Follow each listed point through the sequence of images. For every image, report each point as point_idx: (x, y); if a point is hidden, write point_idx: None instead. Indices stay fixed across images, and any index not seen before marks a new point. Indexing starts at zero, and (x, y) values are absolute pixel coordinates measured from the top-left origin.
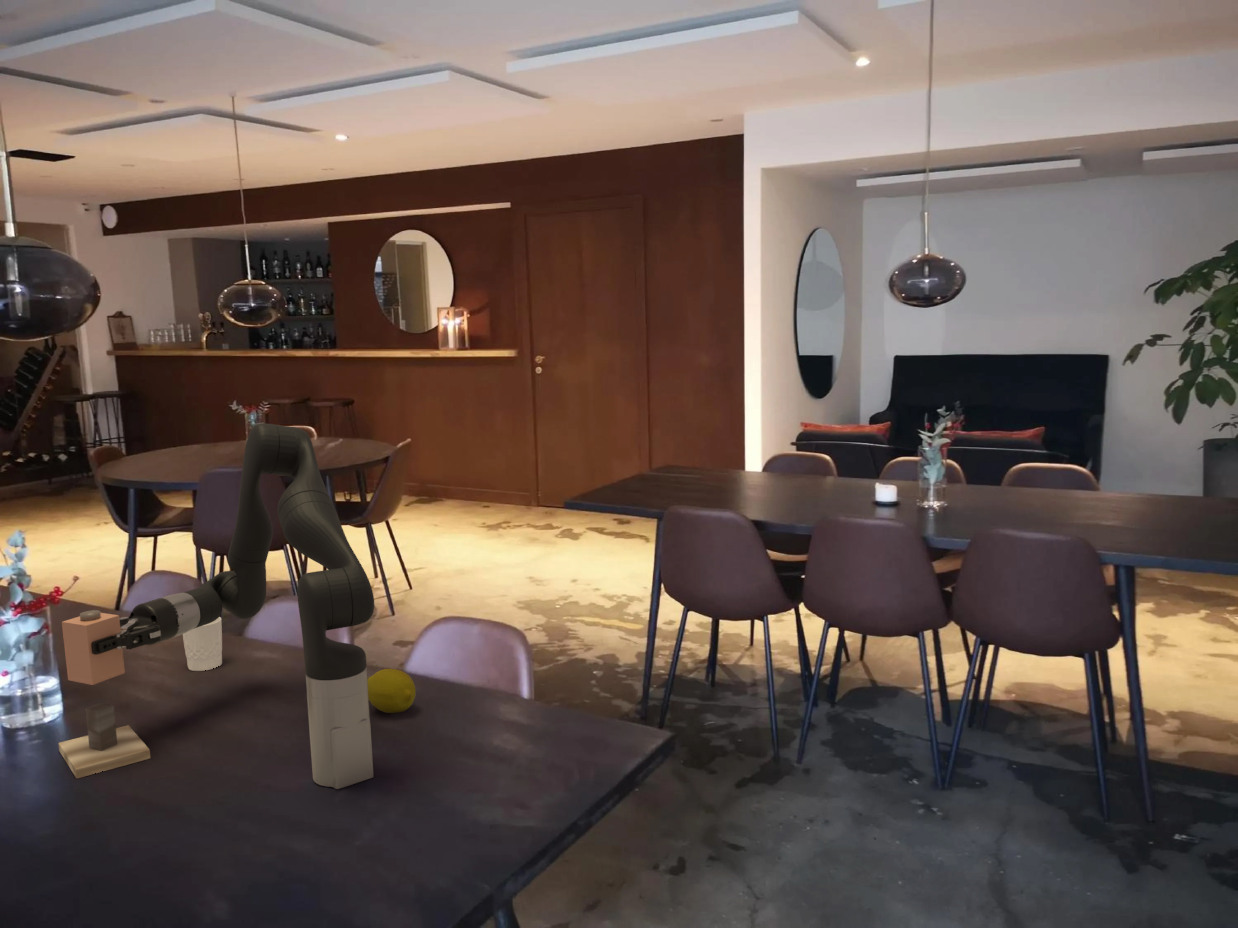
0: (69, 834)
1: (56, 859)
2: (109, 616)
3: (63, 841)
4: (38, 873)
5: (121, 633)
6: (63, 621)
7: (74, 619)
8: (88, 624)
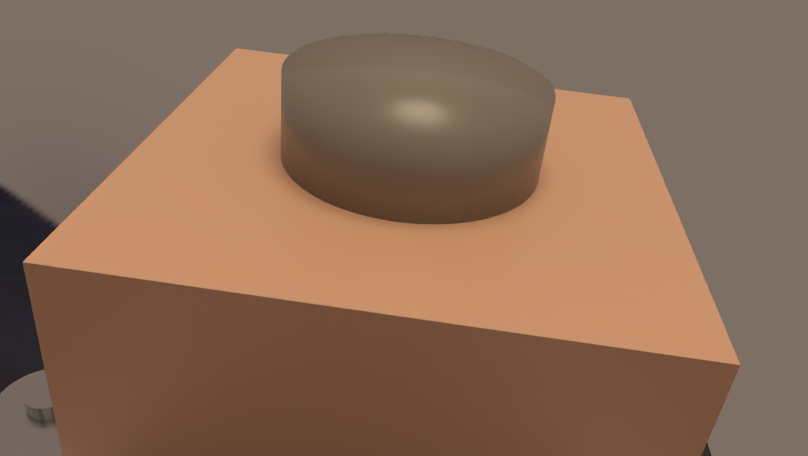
0: (35, 348)
1: (5, 280)
2: (183, 220)
3: (32, 326)
4: (18, 248)
5: (6, 423)
6: (621, 103)
7: (583, 136)
8: (238, 62)
